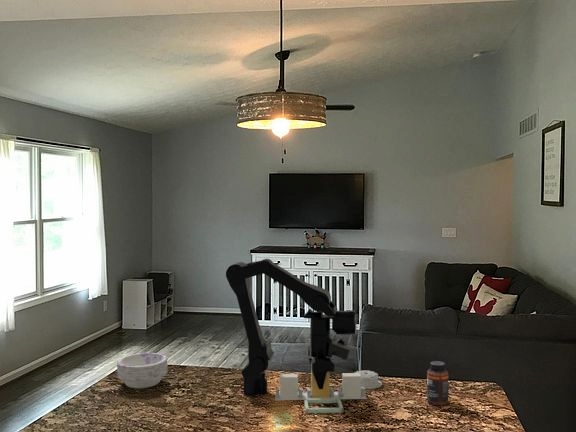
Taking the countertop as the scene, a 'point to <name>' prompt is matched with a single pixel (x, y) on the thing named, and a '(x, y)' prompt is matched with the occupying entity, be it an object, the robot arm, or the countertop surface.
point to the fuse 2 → (351, 385)
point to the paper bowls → (142, 369)
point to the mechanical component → (369, 379)
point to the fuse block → (308, 395)
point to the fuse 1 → (288, 385)
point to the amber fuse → (320, 392)
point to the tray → (324, 410)
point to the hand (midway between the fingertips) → (320, 387)
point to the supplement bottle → (437, 384)
